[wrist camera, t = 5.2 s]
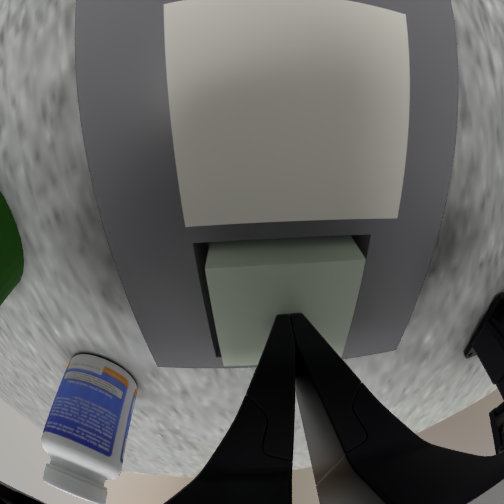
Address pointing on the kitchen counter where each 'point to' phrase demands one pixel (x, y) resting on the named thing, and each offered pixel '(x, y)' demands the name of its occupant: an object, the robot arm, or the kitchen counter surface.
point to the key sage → (281, 290)
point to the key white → (287, 109)
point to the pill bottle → (88, 427)
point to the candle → (9, 251)
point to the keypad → (199, 237)
